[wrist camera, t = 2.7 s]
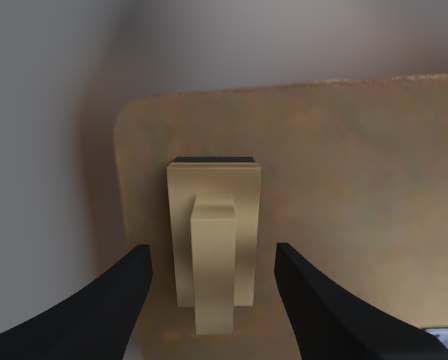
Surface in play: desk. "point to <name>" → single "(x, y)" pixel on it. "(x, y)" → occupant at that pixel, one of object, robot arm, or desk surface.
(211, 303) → the brush
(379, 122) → the desk surface
